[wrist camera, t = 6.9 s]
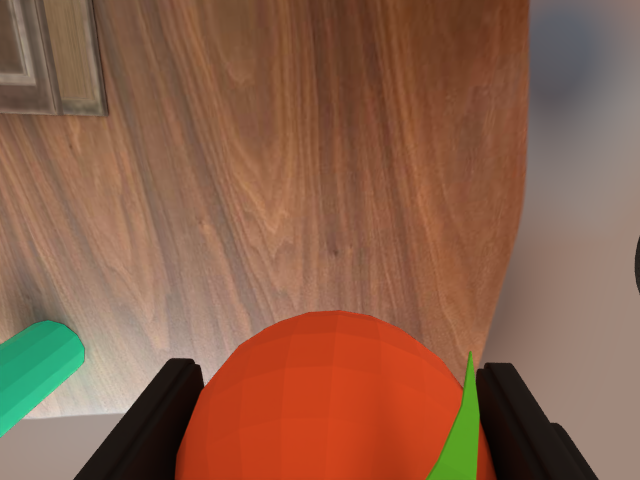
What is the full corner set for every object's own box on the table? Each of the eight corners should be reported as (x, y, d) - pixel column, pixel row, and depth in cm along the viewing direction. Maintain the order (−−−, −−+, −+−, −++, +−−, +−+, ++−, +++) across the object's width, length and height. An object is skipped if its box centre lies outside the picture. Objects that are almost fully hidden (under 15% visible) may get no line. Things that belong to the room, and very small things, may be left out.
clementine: (318, 192, 10) (230, 341, 3) (523, 315, 10) (826, 671, 4) (203, 386, 12) (19, 699, 6) (372, 478, 13) (387, 863, 6)
